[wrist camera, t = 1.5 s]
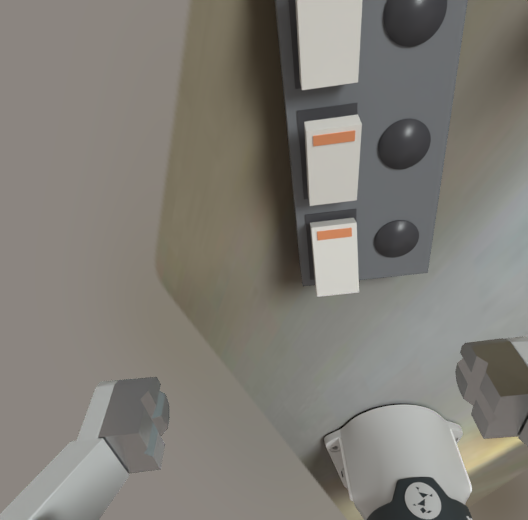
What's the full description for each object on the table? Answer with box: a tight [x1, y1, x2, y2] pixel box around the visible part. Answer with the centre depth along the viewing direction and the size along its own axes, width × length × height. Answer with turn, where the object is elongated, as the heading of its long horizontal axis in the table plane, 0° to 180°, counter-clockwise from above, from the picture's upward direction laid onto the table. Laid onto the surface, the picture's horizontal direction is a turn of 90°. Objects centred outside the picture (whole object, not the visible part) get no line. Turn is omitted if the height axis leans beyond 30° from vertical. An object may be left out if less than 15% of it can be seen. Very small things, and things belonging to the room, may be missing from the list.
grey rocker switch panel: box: [275, 0, 468, 286], centre depth 29 cm, size 24×11×4 cm, turn 7°
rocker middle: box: [304, 115, 362, 206], centre depth 27 cm, size 6×3×1 cm, turn 7°
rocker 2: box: [310, 218, 359, 297], centre depth 31 cm, size 6×3×1 cm, turn 7°
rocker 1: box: [295, 0, 363, 90], centre depth 22 cm, size 6×3×1 cm, turn 7°
